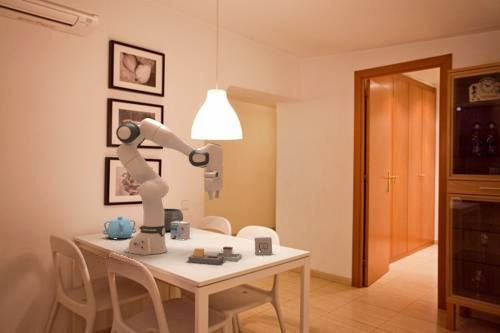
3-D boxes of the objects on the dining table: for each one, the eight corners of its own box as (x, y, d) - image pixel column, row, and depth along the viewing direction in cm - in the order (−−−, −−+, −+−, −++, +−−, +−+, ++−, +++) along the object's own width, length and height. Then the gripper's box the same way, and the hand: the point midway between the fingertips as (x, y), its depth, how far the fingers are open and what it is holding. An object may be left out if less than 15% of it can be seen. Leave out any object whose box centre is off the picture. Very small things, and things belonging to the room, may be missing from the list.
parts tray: (213, 261, 182) (213, 256, 182) (218, 257, 191) (219, 252, 191) (236, 263, 179) (236, 258, 179) (241, 259, 188) (241, 254, 188)
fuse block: (184, 264, 176) (185, 257, 176) (191, 260, 183) (191, 253, 183) (221, 267, 171) (221, 260, 171) (226, 263, 179) (226, 256, 179)
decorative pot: (120, 234, 247) (120, 214, 247) (138, 237, 240) (138, 216, 240) (100, 238, 233) (100, 217, 233) (119, 241, 226) (119, 219, 226)
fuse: (193, 261, 178) (194, 249, 178) (195, 260, 180) (195, 248, 180) (202, 262, 177) (202, 249, 177) (203, 261, 179) (204, 248, 179)
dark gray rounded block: (168, 234, 252) (169, 212, 252) (147, 231, 262) (147, 209, 262) (188, 230, 269) (188, 209, 269) (167, 227, 280) (168, 207, 280)
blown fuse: (222, 259, 184) (223, 247, 184) (224, 258, 186) (224, 246, 186) (231, 260, 183) (231, 248, 183) (232, 259, 185) (232, 247, 185)
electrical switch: (255, 255, 196) (255, 237, 197) (253, 254, 201) (253, 237, 202) (272, 255, 198) (272, 237, 198) (270, 254, 203) (270, 236, 204)
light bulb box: (170, 238, 236) (170, 221, 236) (175, 237, 243) (176, 220, 243) (184, 240, 232) (184, 223, 232) (190, 238, 239) (190, 221, 239)
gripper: (215, 173, 210) (214, 197, 210) (202, 173, 191) (201, 200, 191) (225, 173, 209) (225, 197, 209) (213, 173, 189) (213, 200, 189)
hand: (214, 199), depth 200 cm, fingers open, 8 cm apart
